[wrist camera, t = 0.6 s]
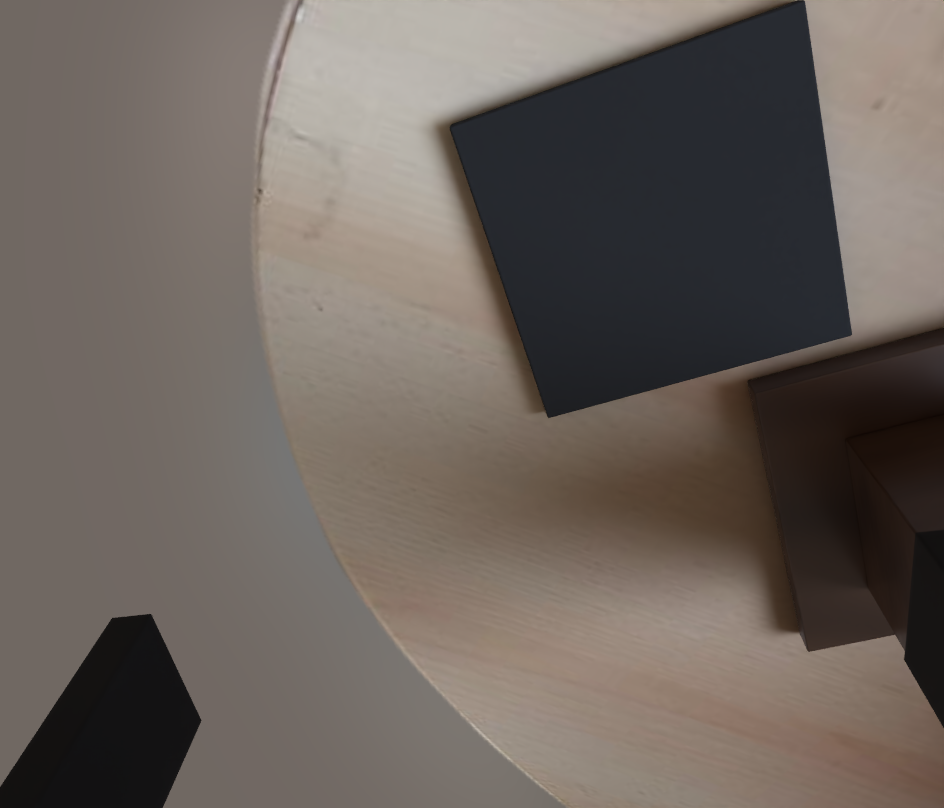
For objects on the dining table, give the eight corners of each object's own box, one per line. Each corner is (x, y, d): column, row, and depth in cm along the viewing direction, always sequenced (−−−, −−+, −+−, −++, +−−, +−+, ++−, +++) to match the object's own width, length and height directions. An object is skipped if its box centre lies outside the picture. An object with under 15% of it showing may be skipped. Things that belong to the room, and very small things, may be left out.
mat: (450, 124, 28) (449, 127, 27) (799, -1, 25) (805, -1, 25) (547, 411, 33) (548, 418, 32) (846, 329, 30) (852, 335, 30)
